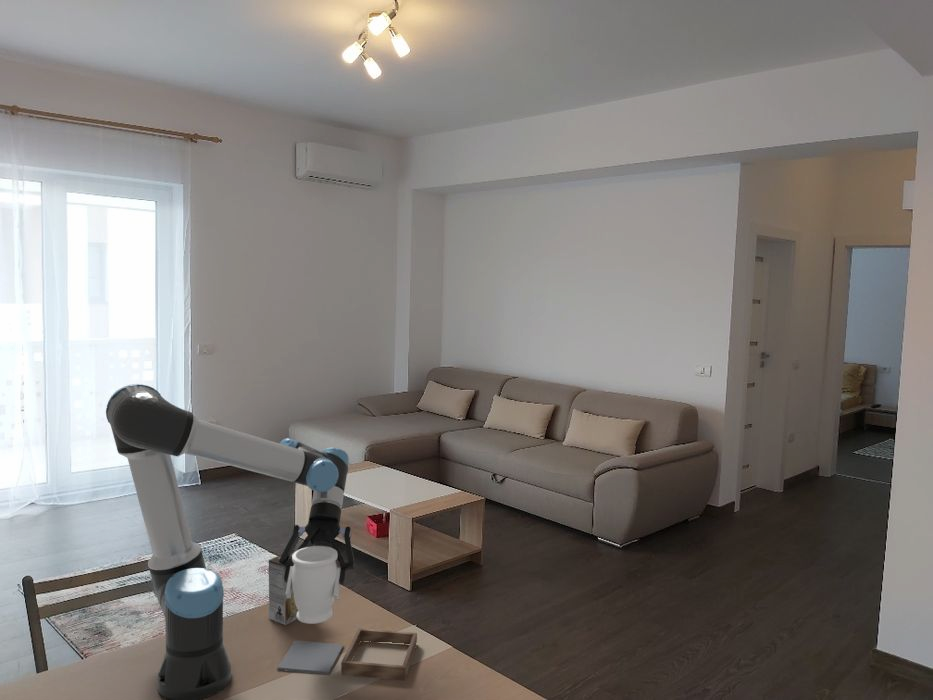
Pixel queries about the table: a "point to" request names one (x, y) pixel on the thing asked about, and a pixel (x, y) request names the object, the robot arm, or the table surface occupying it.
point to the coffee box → (280, 594)
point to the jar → (314, 583)
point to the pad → (311, 657)
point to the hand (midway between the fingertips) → (311, 596)
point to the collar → (373, 668)
